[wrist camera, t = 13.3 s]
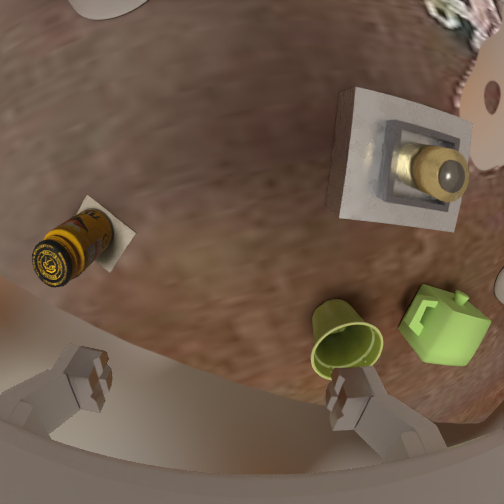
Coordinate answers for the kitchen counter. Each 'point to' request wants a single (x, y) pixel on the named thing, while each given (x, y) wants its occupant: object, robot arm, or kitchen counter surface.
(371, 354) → the plant pot
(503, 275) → the milk bottle
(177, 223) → the kitchen counter surface
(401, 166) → the tan cylinder
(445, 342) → the green teapot
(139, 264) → the kitchen counter surface
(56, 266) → the condiment
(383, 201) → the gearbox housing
